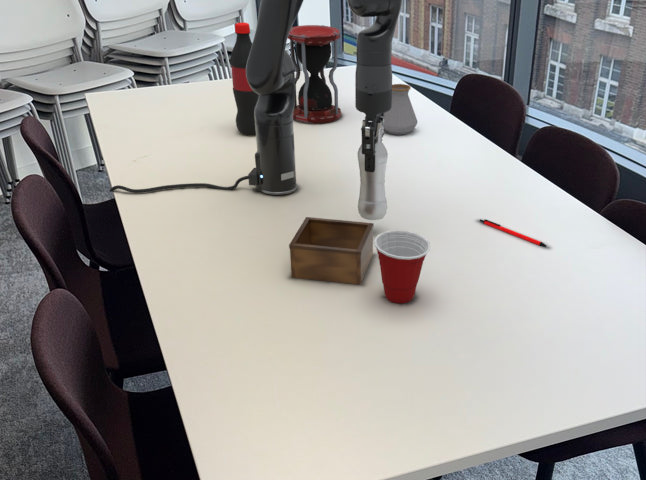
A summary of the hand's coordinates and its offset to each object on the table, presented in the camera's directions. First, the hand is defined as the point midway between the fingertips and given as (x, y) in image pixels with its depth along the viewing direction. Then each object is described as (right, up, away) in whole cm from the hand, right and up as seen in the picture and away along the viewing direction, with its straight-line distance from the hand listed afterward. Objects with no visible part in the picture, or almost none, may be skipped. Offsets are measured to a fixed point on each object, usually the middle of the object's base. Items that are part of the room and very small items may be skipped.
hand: (372, 165), depth 166 cm
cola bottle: (-37, +29, +62) cm, 78 cm away
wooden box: (-8, -23, -4) cm, 24 cm away
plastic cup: (+6, -31, -14) cm, 34 cm away
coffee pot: (+5, +34, +70) cm, 78 cm away
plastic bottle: (0, -10, +8) cm, 12 cm away
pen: (+32, -13, +11) cm, 36 cm away
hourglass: (-19, +39, +76) cm, 88 cm away
